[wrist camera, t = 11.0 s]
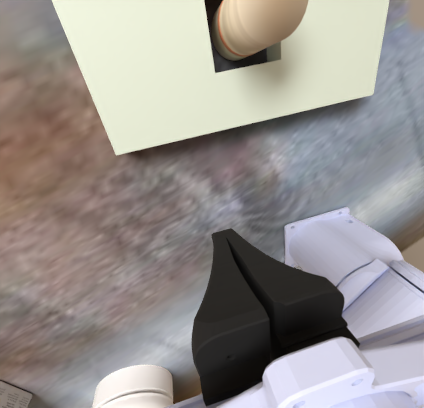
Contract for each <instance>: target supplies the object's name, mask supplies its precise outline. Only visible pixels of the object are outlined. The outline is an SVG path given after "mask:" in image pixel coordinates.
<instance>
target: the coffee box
mask: <svg viewBox="0 0 424 408" xmlns="http://www.w3.org/2000/svg"><path fill="white" fill-rule="evenodd" d="M31 398H32V394H30V393H28V392H26V391H23V390H21V389H19V388H16V387H14V386H11V385H9V384H7V383H4V382H2V381H0V408H27V407H28V404H29V402H30V400H31Z"/></svg>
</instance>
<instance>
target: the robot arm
mask: <svg viewBox="0 0 424 408" xmlns="http://www.w3.org/2000/svg"><path fill="white" fill-rule="evenodd" d="M349 212H350V209H349V208H347V207H344V208H341V209H337V210H334V211H331V212H327V213H324V214H321V215H317V216H314V217H310V218H307V219H304V220H300V221H297V222H294V223H290V224H287V225H286V226H285V228H284V236H285V264H284V263H281V262H279V261H277V260H275V259H273V258H271V257H270V256H268V255H266V254H264V253H263V252H261V251H260V250H258V249H257V248H255V247H254V246H252V245H251V244H250V243H248V242H247V241H246V240H244V239H243V238H242V237H241V236H240V235H238V234H237V233H236V232H235V231H234V230H233V229H227V230H223V231H220V232H216V233H213V234H212V239H213V245H214V251H213V263H212V270H211V275H210V279H209V283H208V287H207V290H206V293H205V295H204V298H203V301H202V303H201V306H200V308H199V310H198V312H197V314H196V317H195V319H194V325H193V332H192V353H193V360H194V364H195V366H196V369H197V371H198V373H199V376H200V381H201V388H202V394H201V395H198V396H195V397H193V398H190V399H187V400H184V401H181V402H179V403H176V404H173V405H170V406H167V407H165V408H424V273H423V272H422V271H420V270H418V269H417V268H415V267H414V266H412V265H411V264H409V263H407V262H406V261H404V260H403V257H402V255H401V253H400V251H399V250H398V248H397V247H396V246H395V245H394V243H393V242H392V241H390V240H389V239H388V238H387V237H385V236H384V235H382V234H380V233H379V232H377V231H376V230H374V229H372V228H371V227H369V226H367V225H366V224H364V223H363V222H361V221H359V220H358V219H356V218H355V217H353V216H351V215H350V214H349ZM292 226H293V227H292ZM296 266H299V267H300V268H301V269H302V270H303V271H302V270H299V269H296V268H293V267H296Z"/></svg>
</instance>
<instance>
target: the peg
mask: <svg viewBox="0 0 424 408" xmlns="http://www.w3.org/2000/svg"><path fill="white" fill-rule="evenodd" d="M307 5H308V0H223V1H222V3H221V4H220V6H219V7H218V9H217V10H216V12H215V14H214V16H213V19H212V24H211V36H212V41H213V44H214V46H215V48H216V50H217V51H218V53H219V54H220V55H221V56H222V57H224V58H225V59H228V60H231V61H237V60H241V59H243V58H245V57H247V56H250V55H252V54H255V53H256V52H258V51H260V50H263V49H265V48H267V47H269V46H271V45H273V44H275V43H278V42H280V41H282V40H284V39H286V38H287V37H289V36H290V35H291V34H292V33H293V32H294V31H295V30H296V29H297V27H298V26H299V24H300V23H301V21H302V19H303V17H304V14H305V12H306V9H307Z"/></svg>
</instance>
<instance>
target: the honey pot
mask: <svg viewBox="0 0 424 408" xmlns="http://www.w3.org/2000/svg"><path fill="white" fill-rule="evenodd" d="M170 405H173V383H172V375H171V373H170V372H169V371H168V370H167V369H165V368H163V367H160V366H156V365H137V366H131V367H127V368H123V369H120V370H118V371H116V372H113V373H111V374H110V375H108V376H107V377H105V378H104V379H103V380H102V381H101V382H100V383H99V384H98V386H97V388H96V392H95V396H94V401H93V405H92V408H165V407H167V406H170Z"/></svg>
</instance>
